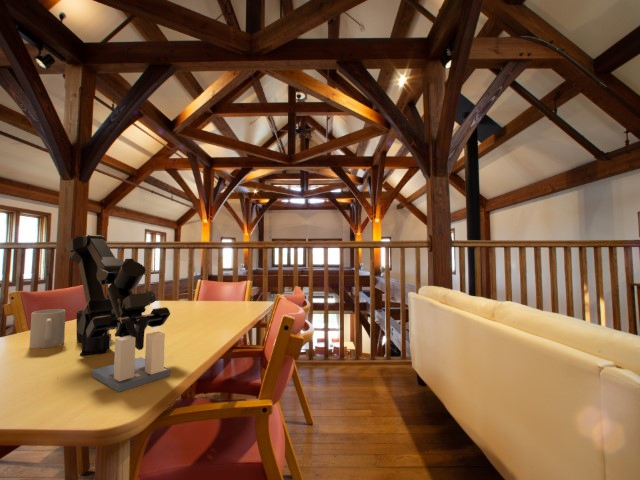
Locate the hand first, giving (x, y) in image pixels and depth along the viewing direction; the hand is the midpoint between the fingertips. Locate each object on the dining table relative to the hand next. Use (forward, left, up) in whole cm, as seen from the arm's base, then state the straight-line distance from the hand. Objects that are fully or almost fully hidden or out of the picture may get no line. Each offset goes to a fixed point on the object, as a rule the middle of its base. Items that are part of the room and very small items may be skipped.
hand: (141, 348), depth 78 cm
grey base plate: (-2, -1, -6) cm, 6 cm away
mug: (-29, +37, -6) cm, 48 cm away
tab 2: (+3, -6, -4) cm, 8 cm away
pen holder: (-18, +41, -6) cm, 45 cm away
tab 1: (-3, -7, -4) cm, 9 cm away
